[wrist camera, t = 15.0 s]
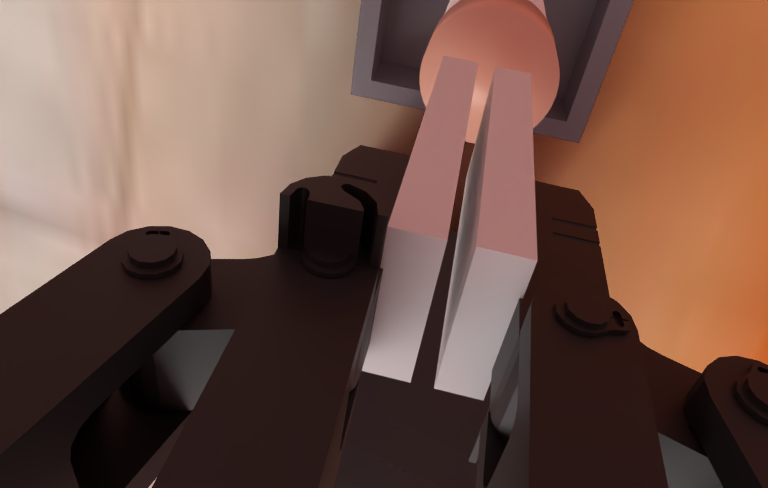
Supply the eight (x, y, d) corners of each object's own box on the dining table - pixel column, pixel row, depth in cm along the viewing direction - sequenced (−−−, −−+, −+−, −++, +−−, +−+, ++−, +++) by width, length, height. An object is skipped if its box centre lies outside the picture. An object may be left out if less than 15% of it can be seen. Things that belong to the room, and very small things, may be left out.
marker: (449, 16, 25) (408, 129, 16) (467, -72, 23) (434, -5, 14) (527, 32, 25) (535, 157, 15) (552, -55, 23) (580, 25, 13)
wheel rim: (403, 92, 28) (250, 448, 12) (559, 187, 30) (603, 619, 14) (258, 330, 40) (83, 670, 24) (374, 390, 41) (282, 750, 25)
